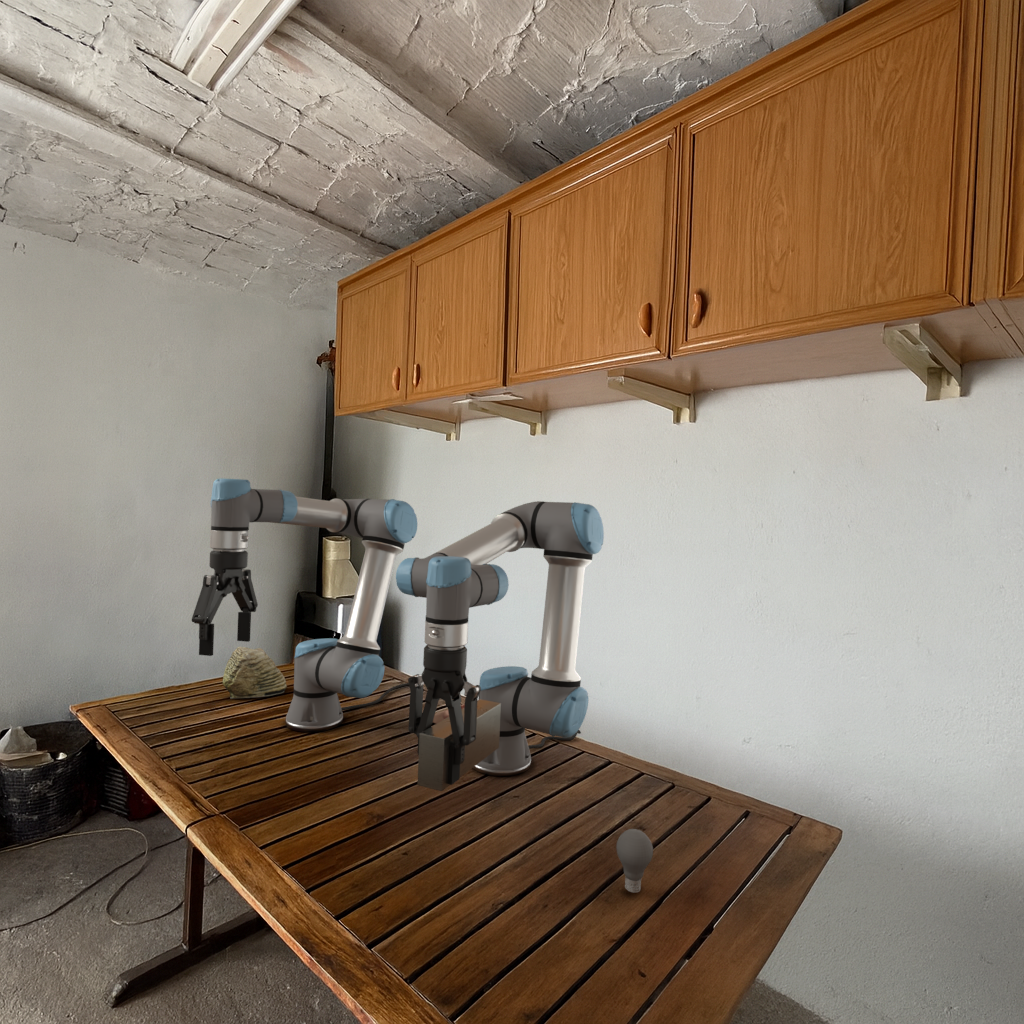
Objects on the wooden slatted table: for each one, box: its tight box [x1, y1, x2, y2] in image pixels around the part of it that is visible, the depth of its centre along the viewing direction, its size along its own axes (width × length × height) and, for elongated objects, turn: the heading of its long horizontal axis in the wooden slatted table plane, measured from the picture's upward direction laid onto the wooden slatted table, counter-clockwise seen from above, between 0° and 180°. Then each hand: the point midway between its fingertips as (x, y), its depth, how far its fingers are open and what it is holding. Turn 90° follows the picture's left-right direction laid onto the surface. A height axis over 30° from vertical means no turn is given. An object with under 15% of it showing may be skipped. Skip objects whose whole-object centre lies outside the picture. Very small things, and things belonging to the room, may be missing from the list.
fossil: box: [222, 646, 288, 699], centre depth 198 cm, size 9×18×15 cm, turn 132°
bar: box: [416, 698, 501, 792], centre depth 118 cm, size 22×5×9 cm, turn 156°
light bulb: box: [615, 828, 654, 894], centre depth 106 cm, size 6×6×10 cm
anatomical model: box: [432, 703, 465, 725], centre depth 183 cm, size 13×4×12 cm
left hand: (225, 647), depth 137 cm, fingers open, 13 cm apart
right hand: (439, 777), depth 111 cm, fingers closed on bar, 5 cm apart
